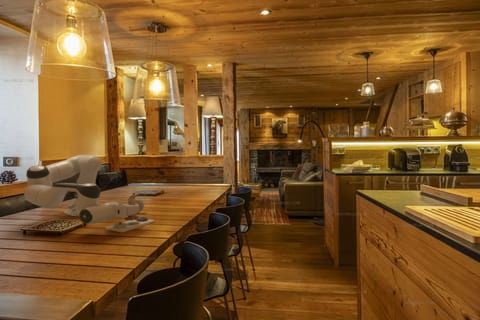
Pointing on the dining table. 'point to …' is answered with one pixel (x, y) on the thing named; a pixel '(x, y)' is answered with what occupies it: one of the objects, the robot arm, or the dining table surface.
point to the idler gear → (131, 202)
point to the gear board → (130, 224)
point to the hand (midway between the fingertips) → (132, 205)
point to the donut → (139, 204)
